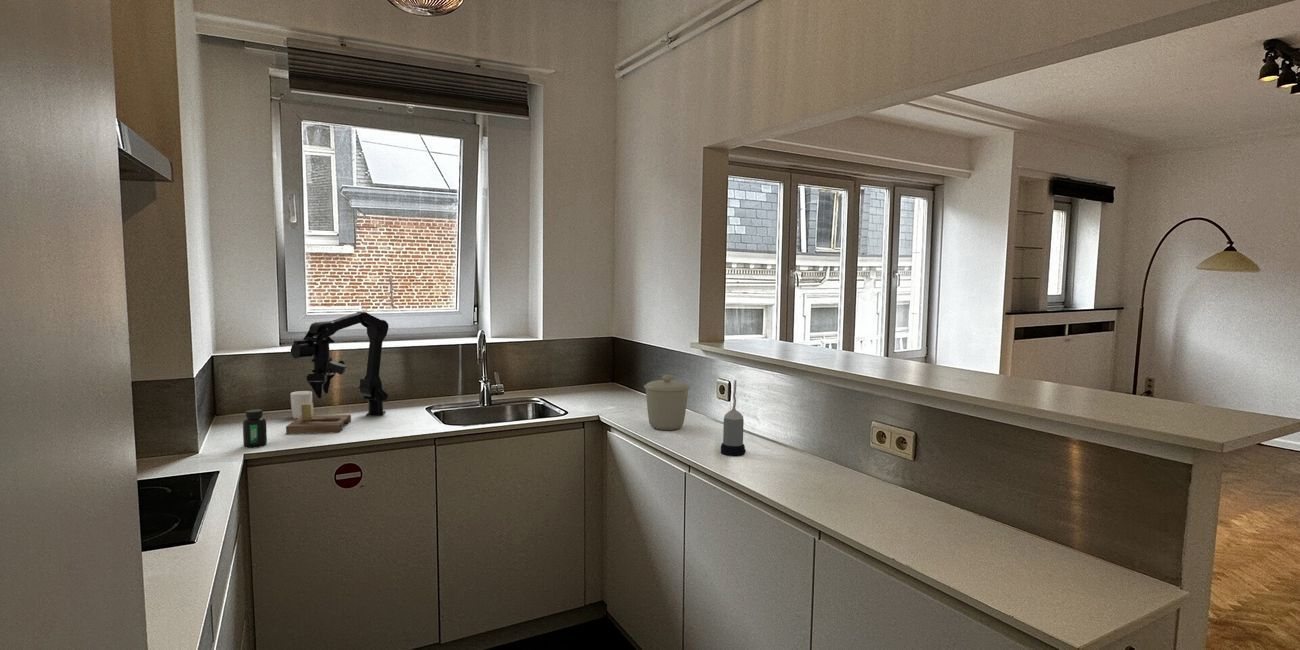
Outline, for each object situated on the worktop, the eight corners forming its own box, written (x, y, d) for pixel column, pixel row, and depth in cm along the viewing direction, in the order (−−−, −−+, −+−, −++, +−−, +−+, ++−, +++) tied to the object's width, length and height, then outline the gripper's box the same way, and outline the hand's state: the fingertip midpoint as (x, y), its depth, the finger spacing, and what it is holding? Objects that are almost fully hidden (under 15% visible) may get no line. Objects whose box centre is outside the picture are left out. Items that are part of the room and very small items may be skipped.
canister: (638, 423, 264) (639, 371, 262) (681, 421, 269) (682, 370, 267) (650, 434, 246) (651, 378, 245) (695, 431, 251) (696, 377, 250)
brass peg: (303, 426, 250) (302, 402, 249) (316, 426, 251) (315, 402, 250) (299, 429, 245) (299, 405, 245) (312, 429, 246) (311, 404, 246)
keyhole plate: (301, 422, 256) (301, 415, 255) (350, 421, 259) (350, 414, 259) (286, 434, 238) (285, 426, 238) (339, 432, 242) (339, 424, 242)
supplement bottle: (257, 448, 219) (256, 413, 218) (238, 447, 219) (237, 412, 218) (271, 443, 226) (270, 409, 225) (253, 442, 226) (251, 408, 225)
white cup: (291, 415, 267) (290, 391, 267) (312, 414, 271) (312, 390, 270) (290, 419, 260) (290, 395, 260) (313, 418, 264) (312, 393, 263)
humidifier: (750, 454, 221) (752, 381, 219) (731, 457, 217) (733, 383, 215) (734, 448, 228) (736, 377, 226) (715, 451, 224) (717, 379, 222)
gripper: (337, 358, 243) (339, 399, 245) (349, 351, 261) (351, 390, 263) (305, 359, 241) (307, 401, 242) (319, 352, 259) (321, 391, 260)
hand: (323, 395), depth 252 cm, fingers open, 9 cm apart
